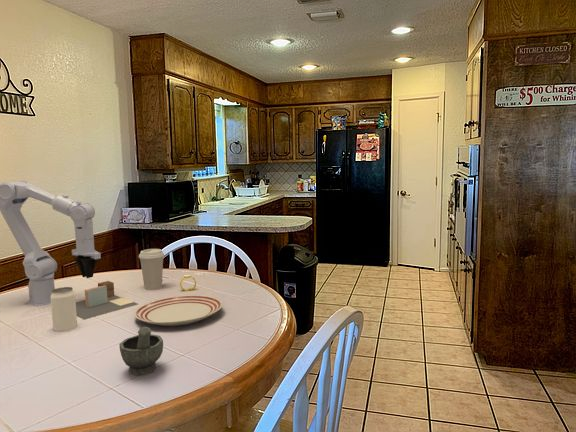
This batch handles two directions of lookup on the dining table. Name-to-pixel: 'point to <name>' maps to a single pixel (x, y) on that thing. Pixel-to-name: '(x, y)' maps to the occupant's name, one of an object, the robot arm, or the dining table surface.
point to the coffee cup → (152, 268)
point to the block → (108, 287)
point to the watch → (187, 277)
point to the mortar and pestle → (141, 352)
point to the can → (63, 309)
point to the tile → (96, 296)
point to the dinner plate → (178, 310)
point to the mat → (102, 307)
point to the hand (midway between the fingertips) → (87, 276)
